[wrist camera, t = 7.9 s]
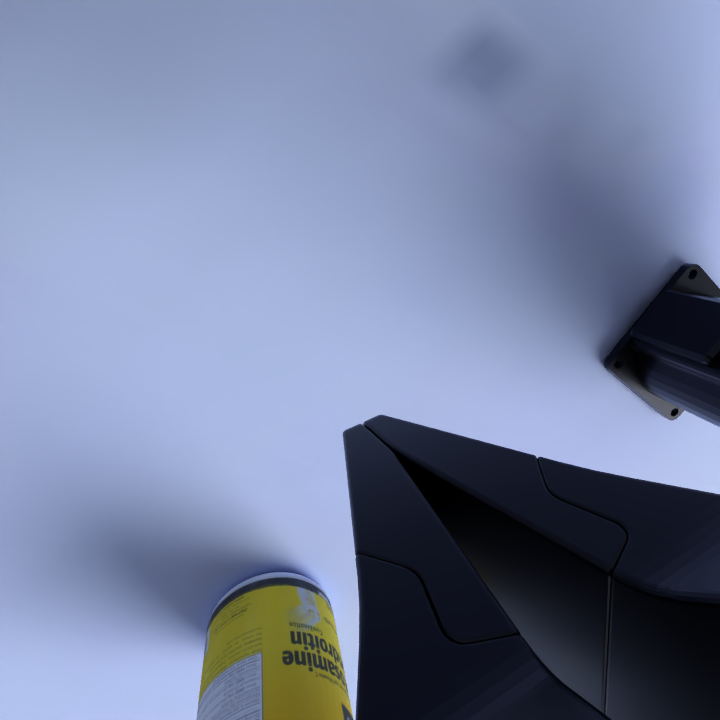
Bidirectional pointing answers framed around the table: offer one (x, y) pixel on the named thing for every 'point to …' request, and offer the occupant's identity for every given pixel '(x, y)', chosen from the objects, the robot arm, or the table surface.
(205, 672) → the pill bottle
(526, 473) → the robot arm
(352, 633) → the table surface
